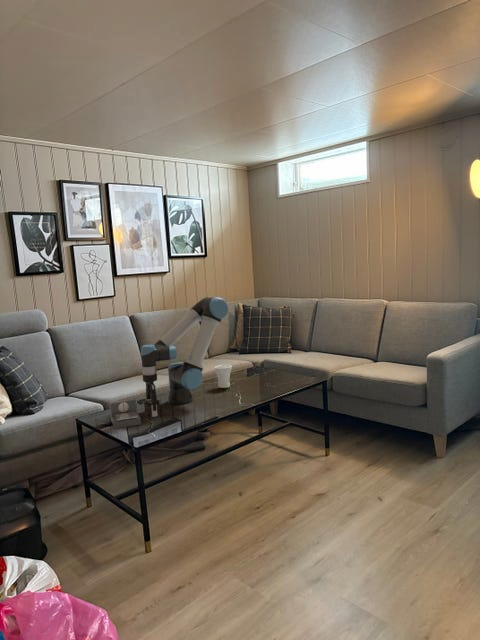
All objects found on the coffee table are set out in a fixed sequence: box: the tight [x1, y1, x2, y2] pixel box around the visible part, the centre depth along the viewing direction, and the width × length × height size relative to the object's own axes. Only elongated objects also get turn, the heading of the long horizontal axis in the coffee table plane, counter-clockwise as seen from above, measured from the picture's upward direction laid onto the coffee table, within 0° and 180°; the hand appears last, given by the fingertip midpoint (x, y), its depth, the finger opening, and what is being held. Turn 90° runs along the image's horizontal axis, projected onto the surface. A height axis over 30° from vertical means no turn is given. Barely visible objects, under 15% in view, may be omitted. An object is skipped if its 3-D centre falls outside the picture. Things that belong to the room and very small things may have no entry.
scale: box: [109, 398, 142, 429], centre depth 243 cm, size 13×14×10 cm
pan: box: [115, 412, 137, 421], centre depth 242 cm, size 10×9×1 cm
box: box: [143, 399, 161, 417], centre depth 256 cm, size 6×6×7 cm
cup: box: [214, 364, 233, 389], centre depth 305 cm, size 11×11×14 cm
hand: (152, 413), depth 257 cm, fingers open, 11 cm apart
